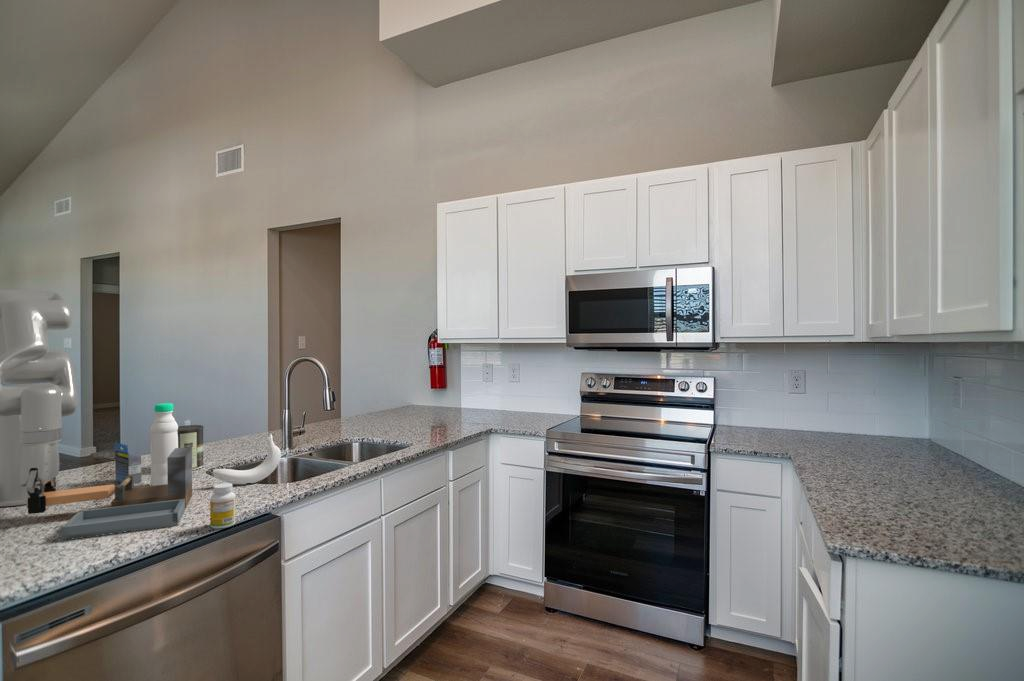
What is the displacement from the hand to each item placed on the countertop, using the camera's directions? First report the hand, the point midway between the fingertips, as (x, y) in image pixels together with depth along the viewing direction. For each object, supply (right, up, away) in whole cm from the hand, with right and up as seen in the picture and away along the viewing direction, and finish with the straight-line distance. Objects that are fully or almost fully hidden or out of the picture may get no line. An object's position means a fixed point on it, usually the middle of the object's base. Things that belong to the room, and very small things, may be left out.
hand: (42, 507), depth 129 cm
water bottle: (+11, -3, +28) cm, 31 cm away
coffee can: (+6, -2, +48) cm, 48 cm away
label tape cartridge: (-2, -3, +32) cm, 32 cm away
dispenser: (+21, -3, +10) cm, 23 cm away
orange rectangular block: (+6, +1, +3) cm, 6 cm away
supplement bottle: (+47, -3, -3) cm, 47 cm away
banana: (+36, -3, +31) cm, 47 cm away
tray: (+24, -3, -3) cm, 24 cm away
